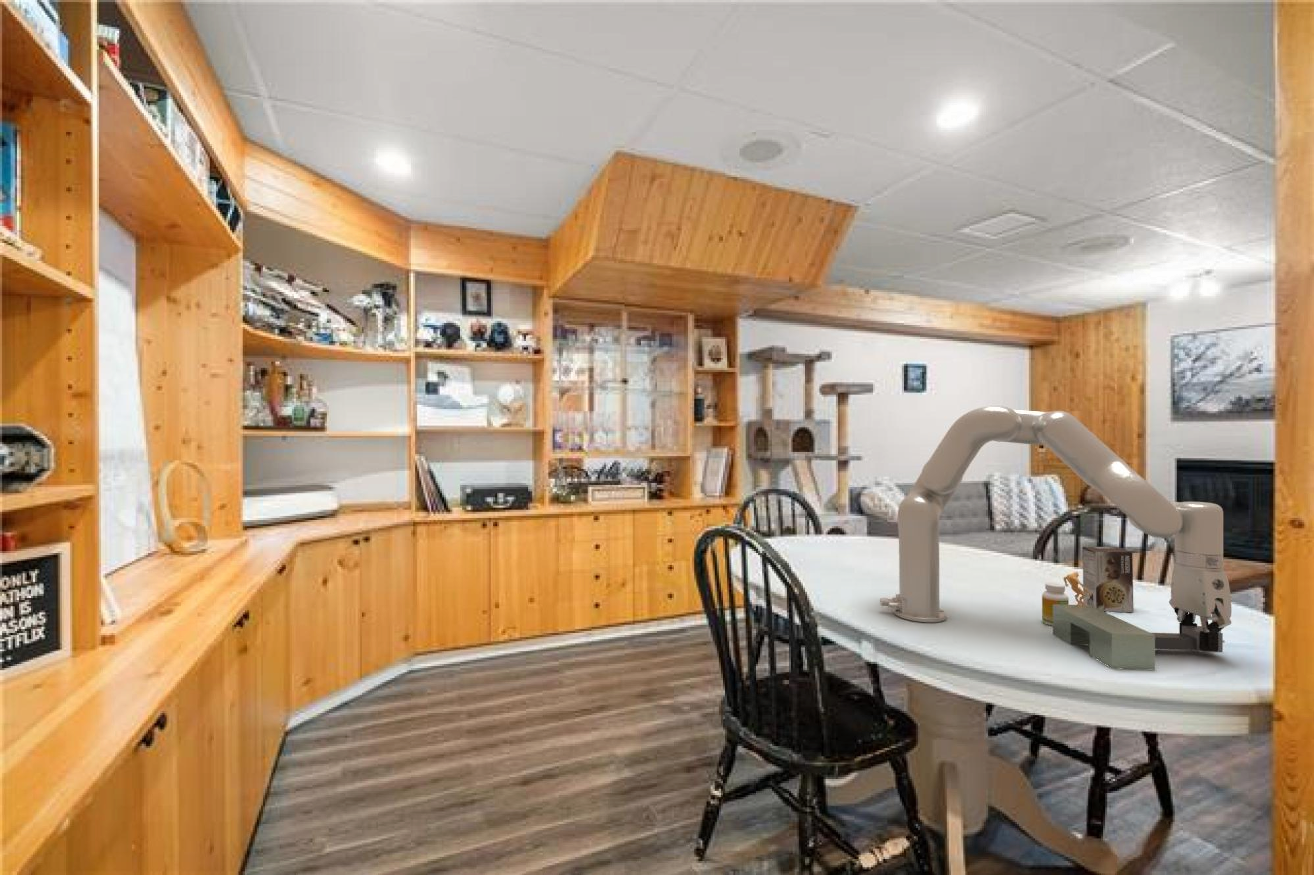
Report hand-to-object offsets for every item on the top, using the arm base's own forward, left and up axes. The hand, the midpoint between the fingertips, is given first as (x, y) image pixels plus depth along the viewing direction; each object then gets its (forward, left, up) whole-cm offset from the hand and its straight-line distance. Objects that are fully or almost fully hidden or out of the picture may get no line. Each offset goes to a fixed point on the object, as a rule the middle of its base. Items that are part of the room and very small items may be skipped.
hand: (1198, 645), depth 122 cm
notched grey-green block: (-20, 0, -2) cm, 20 cm away
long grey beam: (-5, 0, -1) cm, 5 cm away
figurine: (-11, +22, -2) cm, 25 cm away
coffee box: (+2, +32, -2) cm, 32 cm away
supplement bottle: (-19, +18, -2) cm, 26 cm away
